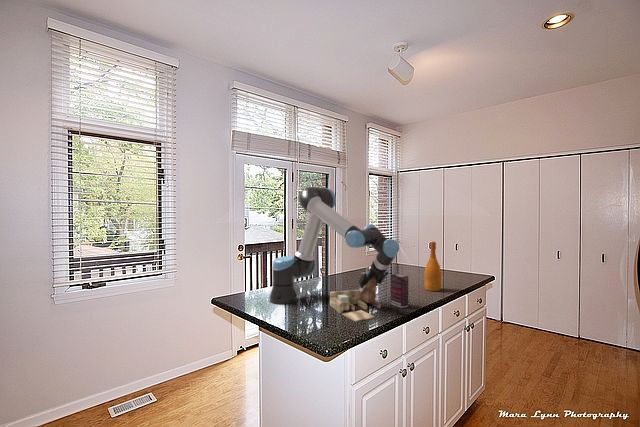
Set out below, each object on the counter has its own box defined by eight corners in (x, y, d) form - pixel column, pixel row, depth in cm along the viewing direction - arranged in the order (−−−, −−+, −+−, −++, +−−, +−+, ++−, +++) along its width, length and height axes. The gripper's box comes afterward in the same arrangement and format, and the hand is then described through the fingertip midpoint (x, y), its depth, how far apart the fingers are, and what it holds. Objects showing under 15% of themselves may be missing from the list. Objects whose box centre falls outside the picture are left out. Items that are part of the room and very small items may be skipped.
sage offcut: (341, 303, 169) (341, 297, 169) (337, 300, 174) (337, 295, 174) (348, 303, 170) (348, 297, 170) (345, 300, 175) (345, 294, 175)
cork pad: (355, 321, 152) (355, 320, 152) (342, 314, 162) (342, 313, 162) (375, 317, 158) (375, 316, 158) (361, 311, 167) (361, 310, 167)
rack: (339, 313, 164) (340, 299, 164) (329, 305, 178) (329, 291, 177) (384, 308, 172) (384, 295, 171) (371, 301, 185) (371, 288, 185)
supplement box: (408, 307, 175) (409, 276, 175) (401, 308, 173) (401, 277, 172) (397, 302, 183) (397, 273, 182) (390, 304, 180) (390, 274, 180)
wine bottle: (442, 289, 213) (443, 241, 212) (438, 292, 204) (439, 242, 204) (426, 287, 218) (427, 240, 217) (422, 290, 210) (422, 241, 209)
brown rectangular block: (367, 302, 172) (368, 274, 172) (360, 298, 180) (361, 271, 179) (375, 301, 173) (376, 274, 173) (368, 297, 181) (369, 271, 181)
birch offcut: (340, 311, 168) (340, 304, 168) (336, 307, 175) (336, 300, 175) (349, 310, 170) (349, 303, 169) (344, 306, 176) (344, 299, 176)
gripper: (366, 271, 159) (351, 297, 175) (399, 270, 164) (382, 295, 180) (361, 258, 163) (347, 285, 180) (393, 257, 169) (377, 282, 185)
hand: (365, 290), depth 180 cm, fingers closed on brown rectangular block, 4 cm apart
